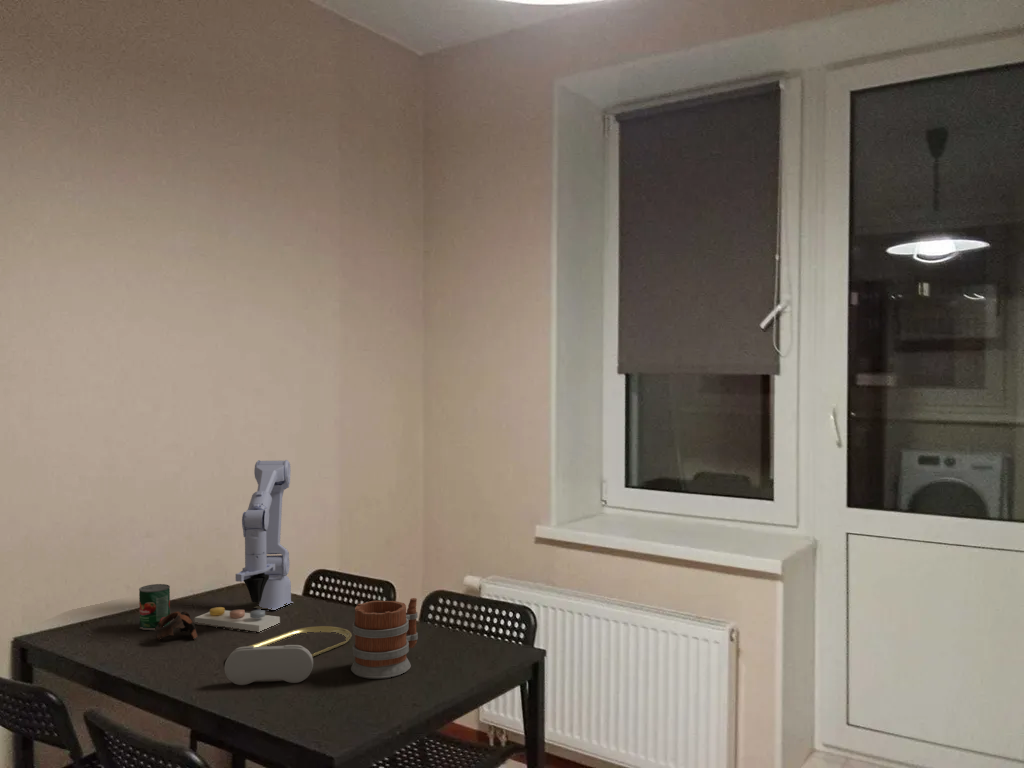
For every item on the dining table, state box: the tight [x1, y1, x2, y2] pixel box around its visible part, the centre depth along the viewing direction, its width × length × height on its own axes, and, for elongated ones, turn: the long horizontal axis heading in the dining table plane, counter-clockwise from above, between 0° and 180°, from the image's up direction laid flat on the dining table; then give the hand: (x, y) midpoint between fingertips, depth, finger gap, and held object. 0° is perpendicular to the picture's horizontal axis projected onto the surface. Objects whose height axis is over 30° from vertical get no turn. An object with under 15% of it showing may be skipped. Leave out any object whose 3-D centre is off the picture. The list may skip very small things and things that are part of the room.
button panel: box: [194, 609, 281, 633], centre depth 237 cm, size 9×22×2 cm, turn 69°
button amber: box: [209, 606, 226, 615], centre depth 239 cm, size 4×4×1 cm
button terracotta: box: [229, 609, 246, 618], centre depth 237 cm, size 4×4×1 cm
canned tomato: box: [138, 583, 171, 628], centre depth 235 cm, size 8×8×11 cm
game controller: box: [224, 644, 314, 686], centre depth 192 cm, size 20×2×8 cm, turn 96°
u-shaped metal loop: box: [246, 625, 353, 658], centre depth 215 cm, size 19×35×2 cm, turn 149°
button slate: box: [249, 609, 266, 618], centre depth 234 cm, size 4×4×1 cm
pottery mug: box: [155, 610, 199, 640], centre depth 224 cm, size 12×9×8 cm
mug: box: [350, 597, 419, 680], centre depth 202 cm, size 14×19×15 cm
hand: (256, 601), depth 234 cm, fingers closed
